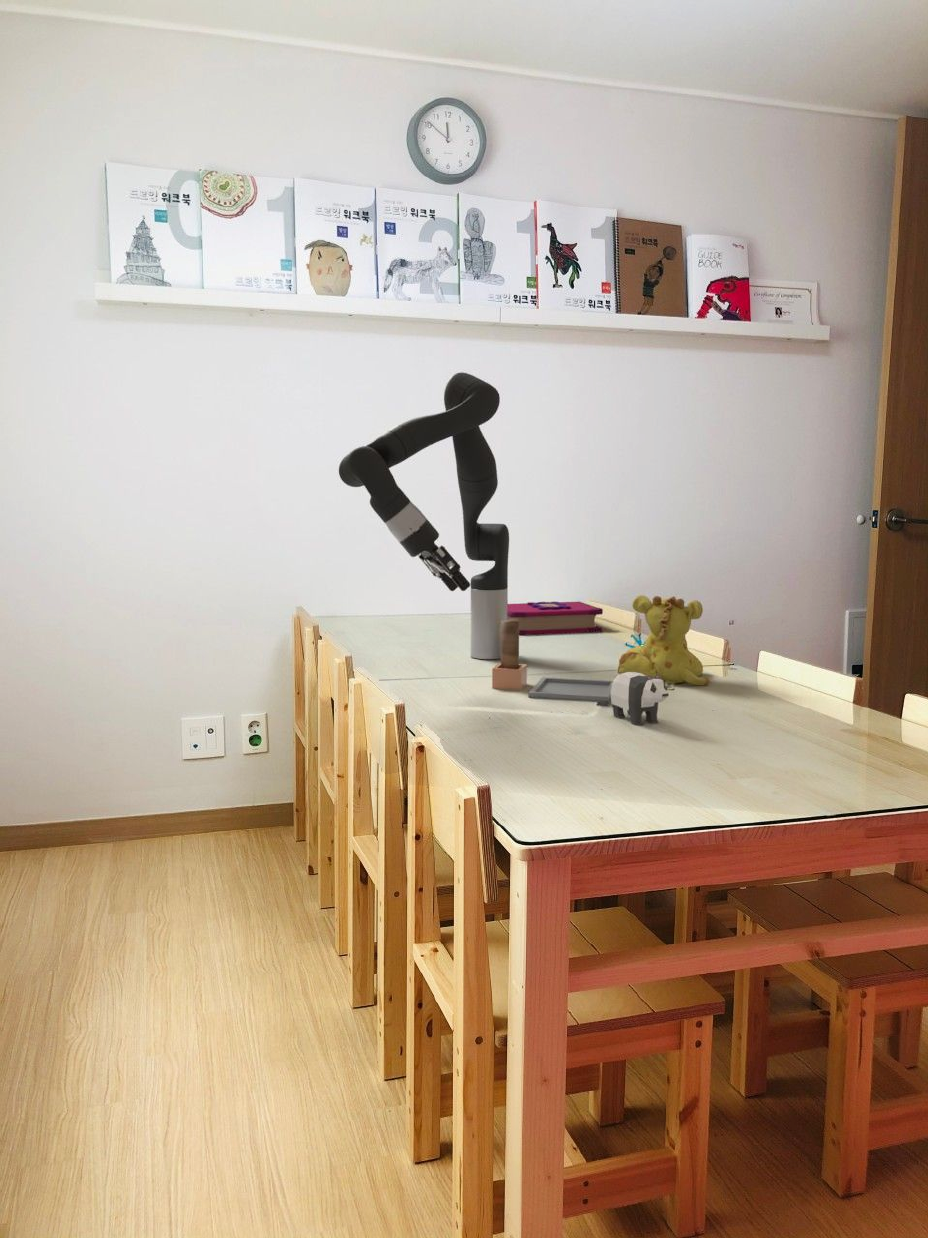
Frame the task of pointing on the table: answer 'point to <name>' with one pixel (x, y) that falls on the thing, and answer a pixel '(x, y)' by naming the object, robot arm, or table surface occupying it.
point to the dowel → (510, 644)
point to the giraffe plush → (665, 642)
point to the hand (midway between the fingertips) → (461, 588)
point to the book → (554, 617)
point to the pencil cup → (509, 677)
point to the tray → (573, 690)
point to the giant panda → (637, 696)
